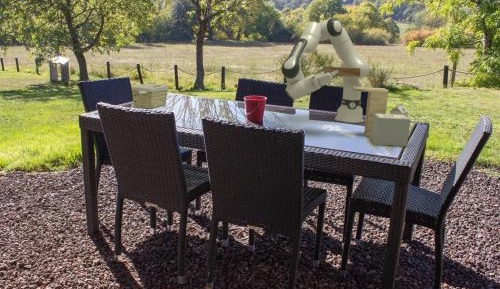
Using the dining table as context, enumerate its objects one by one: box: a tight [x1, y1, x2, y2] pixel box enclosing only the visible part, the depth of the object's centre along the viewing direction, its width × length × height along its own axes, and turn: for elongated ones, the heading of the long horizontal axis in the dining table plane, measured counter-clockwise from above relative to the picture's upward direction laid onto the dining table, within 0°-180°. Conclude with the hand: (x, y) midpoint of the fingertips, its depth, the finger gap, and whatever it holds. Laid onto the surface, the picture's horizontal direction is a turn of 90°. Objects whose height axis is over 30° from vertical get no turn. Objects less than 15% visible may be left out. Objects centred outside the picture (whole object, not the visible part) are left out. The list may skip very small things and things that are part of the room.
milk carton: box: [389, 103, 409, 118], centre depth 253 cm, size 7×7×19 cm
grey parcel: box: [370, 114, 411, 147], centre depth 242 cm, size 12×16×14 cm
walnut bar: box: [323, 65, 360, 77], centre depth 252 cm, size 4×19×4 cm, turn 88°
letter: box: [376, 113, 409, 119], centre depth 240 cm, size 11×14×1 cm
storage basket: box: [131, 83, 169, 110], centre depth 322 cm, size 24×16×15 cm
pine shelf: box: [352, 86, 389, 138], centre depth 257 cm, size 9×18×26 cm, turn 87°
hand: (337, 70), depth 252 cm, fingers closed on walnut bar, 4 cm apart
